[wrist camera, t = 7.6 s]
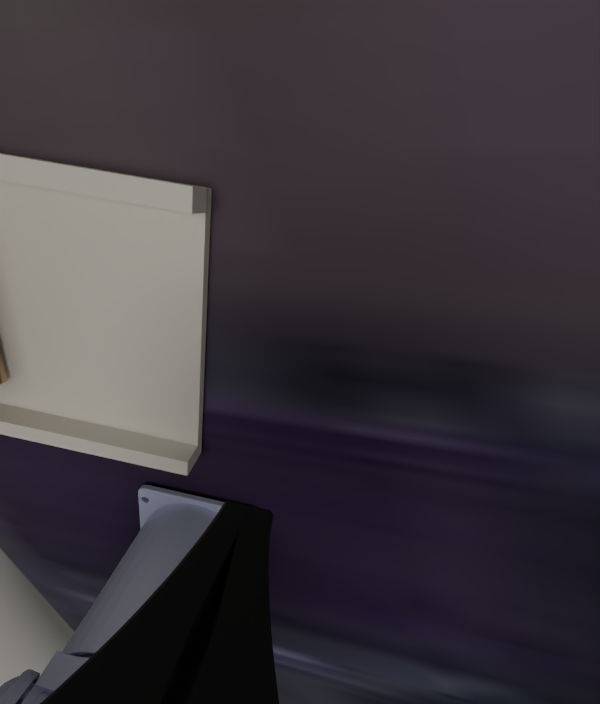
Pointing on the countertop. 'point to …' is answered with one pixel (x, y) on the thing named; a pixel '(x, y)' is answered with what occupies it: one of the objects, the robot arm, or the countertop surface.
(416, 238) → the countertop surface
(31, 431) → the tray
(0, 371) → the crate
